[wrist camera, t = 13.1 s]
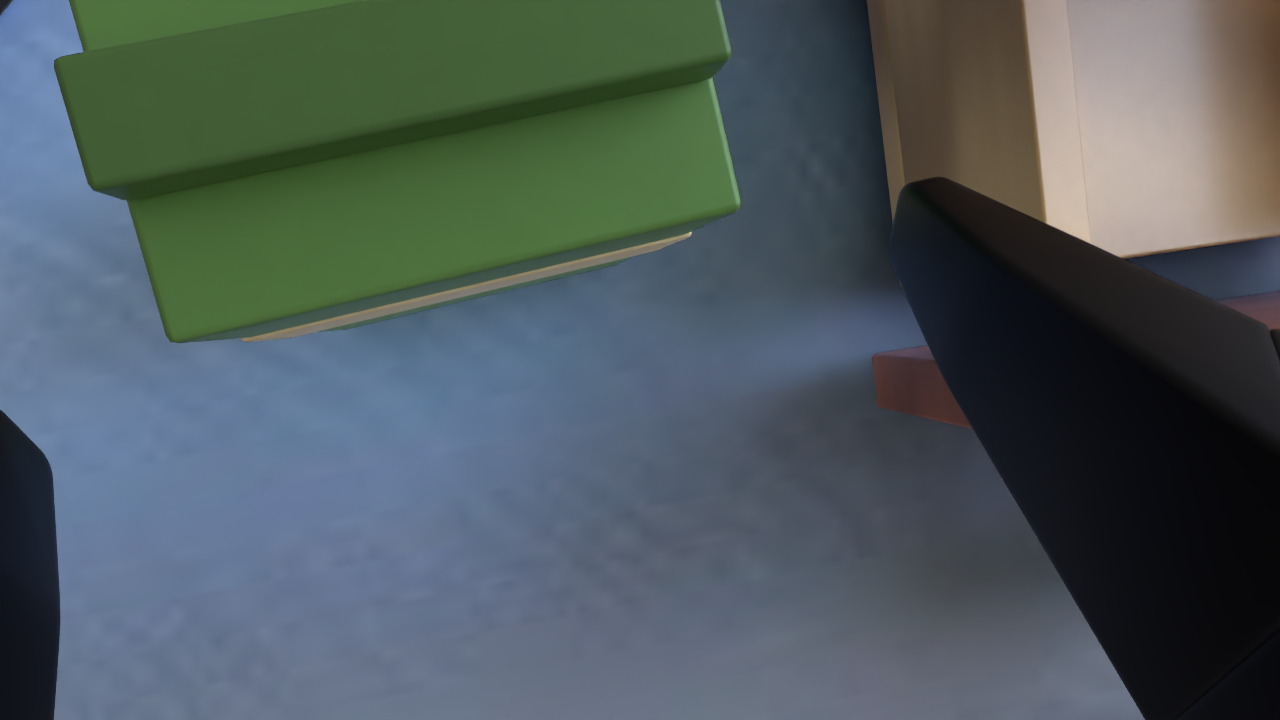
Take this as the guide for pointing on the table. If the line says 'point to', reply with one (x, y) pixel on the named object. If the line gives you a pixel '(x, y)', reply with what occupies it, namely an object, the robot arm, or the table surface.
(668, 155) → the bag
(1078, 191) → the drawer
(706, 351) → the table surface
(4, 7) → the disk drive
